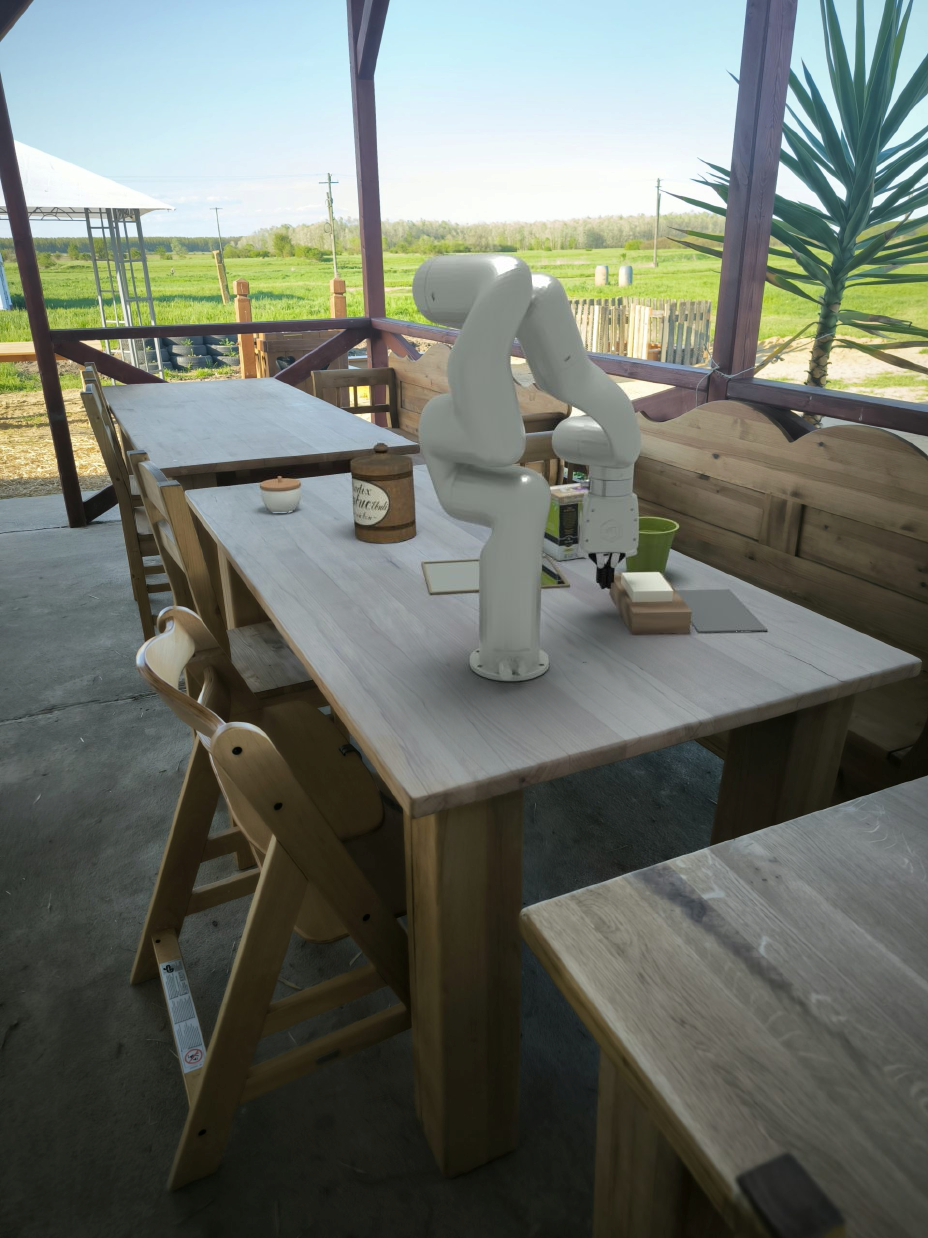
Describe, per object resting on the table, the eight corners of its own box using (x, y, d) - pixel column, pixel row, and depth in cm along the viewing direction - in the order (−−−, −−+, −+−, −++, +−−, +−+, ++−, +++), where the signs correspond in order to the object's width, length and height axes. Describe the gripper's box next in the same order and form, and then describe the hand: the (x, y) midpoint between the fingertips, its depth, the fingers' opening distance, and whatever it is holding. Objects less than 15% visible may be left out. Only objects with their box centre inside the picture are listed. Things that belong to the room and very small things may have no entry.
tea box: (595, 541, 190) (598, 479, 184) (617, 554, 181) (622, 488, 176) (537, 549, 185) (538, 485, 179) (557, 562, 176) (559, 495, 171)
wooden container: (342, 534, 198) (336, 443, 189) (391, 523, 207) (387, 435, 198) (378, 547, 187) (374, 452, 179) (428, 535, 196) (426, 443, 188)
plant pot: (627, 564, 174) (630, 513, 170) (681, 573, 169) (686, 521, 164) (606, 581, 165) (609, 527, 161) (663, 591, 159) (668, 535, 155)
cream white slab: (672, 601, 143) (673, 590, 142) (632, 602, 143) (633, 591, 142) (658, 582, 152) (659, 572, 152) (621, 582, 152) (621, 572, 151)
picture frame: (429, 597, 159) (569, 589, 162) (429, 592, 158) (570, 584, 162) (421, 566, 176) (547, 559, 180) (421, 561, 176) (548, 555, 179)
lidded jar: (268, 506, 224) (264, 472, 220) (307, 506, 223) (304, 472, 220) (257, 516, 214) (253, 481, 210) (298, 516, 213) (294, 481, 210)
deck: (689, 633, 140) (691, 611, 138) (631, 634, 140) (633, 612, 138) (660, 592, 158) (662, 573, 157) (609, 593, 158) (610, 574, 157)
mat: (767, 631, 140) (767, 629, 140) (698, 633, 140) (698, 630, 140) (729, 591, 159) (729, 589, 159) (667, 592, 159) (668, 590, 158)
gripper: (570, 492, 136) (566, 594, 143) (659, 490, 137) (650, 592, 144) (563, 482, 143) (560, 580, 150) (648, 480, 144) (640, 578, 151)
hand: (604, 586), depth 147 cm, fingers closed
